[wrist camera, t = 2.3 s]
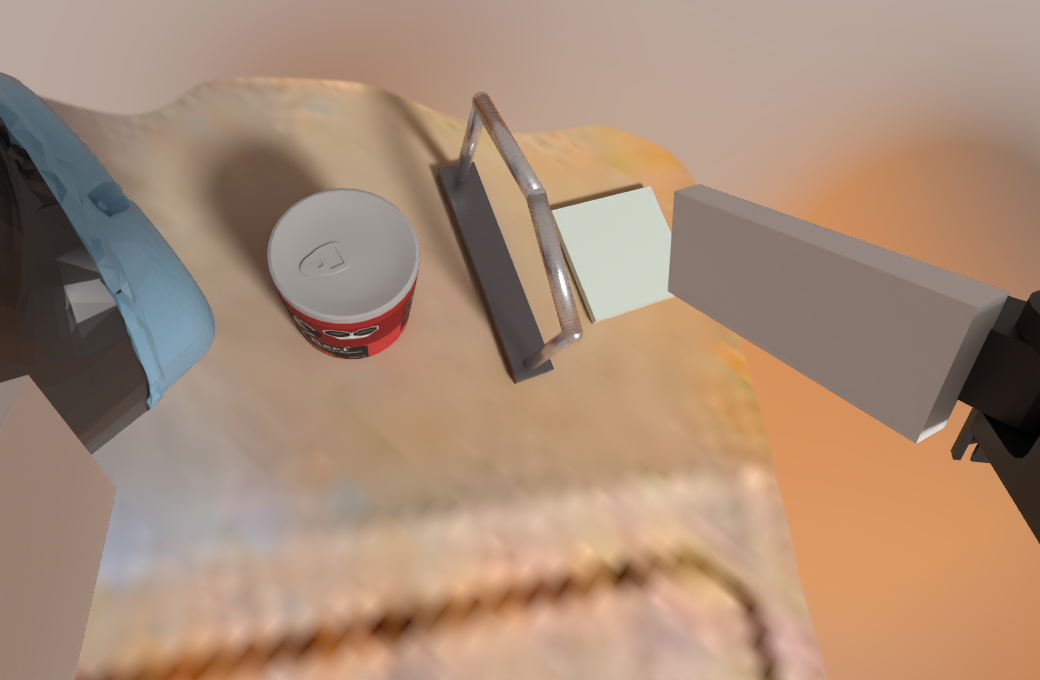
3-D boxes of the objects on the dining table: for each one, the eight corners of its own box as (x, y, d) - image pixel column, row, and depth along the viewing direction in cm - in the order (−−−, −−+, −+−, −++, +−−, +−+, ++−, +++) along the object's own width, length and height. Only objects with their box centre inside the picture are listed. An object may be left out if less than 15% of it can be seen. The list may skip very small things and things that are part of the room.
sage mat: (592, 323, 43) (596, 321, 42) (548, 214, 45) (551, 210, 44) (689, 291, 46) (694, 288, 46) (646, 190, 48) (650, 186, 47)
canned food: (272, 308, 37) (231, 246, 27) (358, 240, 40) (352, 159, 30) (349, 385, 37) (339, 352, 27) (430, 311, 40) (449, 256, 30)
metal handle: (514, 383, 40) (574, 345, 28) (437, 177, 43) (460, 58, 31) (548, 371, 41) (621, 329, 29) (471, 169, 44) (507, 52, 32)
